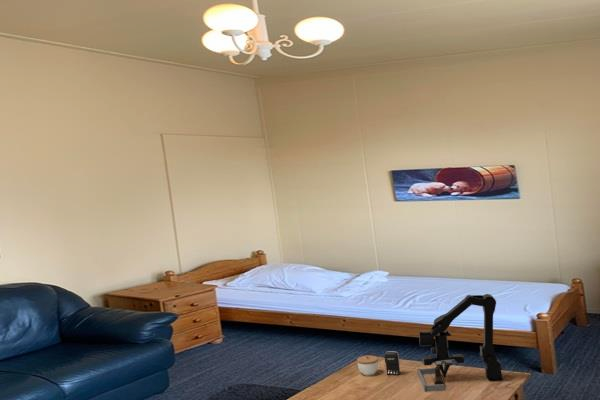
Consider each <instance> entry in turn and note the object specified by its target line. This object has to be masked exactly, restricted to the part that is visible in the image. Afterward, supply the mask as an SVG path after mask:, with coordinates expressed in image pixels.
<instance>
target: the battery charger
mask: <svg viewBox="0 0 600 400" xmlns="http://www.w3.org/2000/svg"><path fill="white" fill-rule="evenodd" d="M384 363H385V370H386V375H387V376H399V375H401V370H400V355H399V352H397V351H391V350H390V351H386V352H385V353H384Z"/></svg>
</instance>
